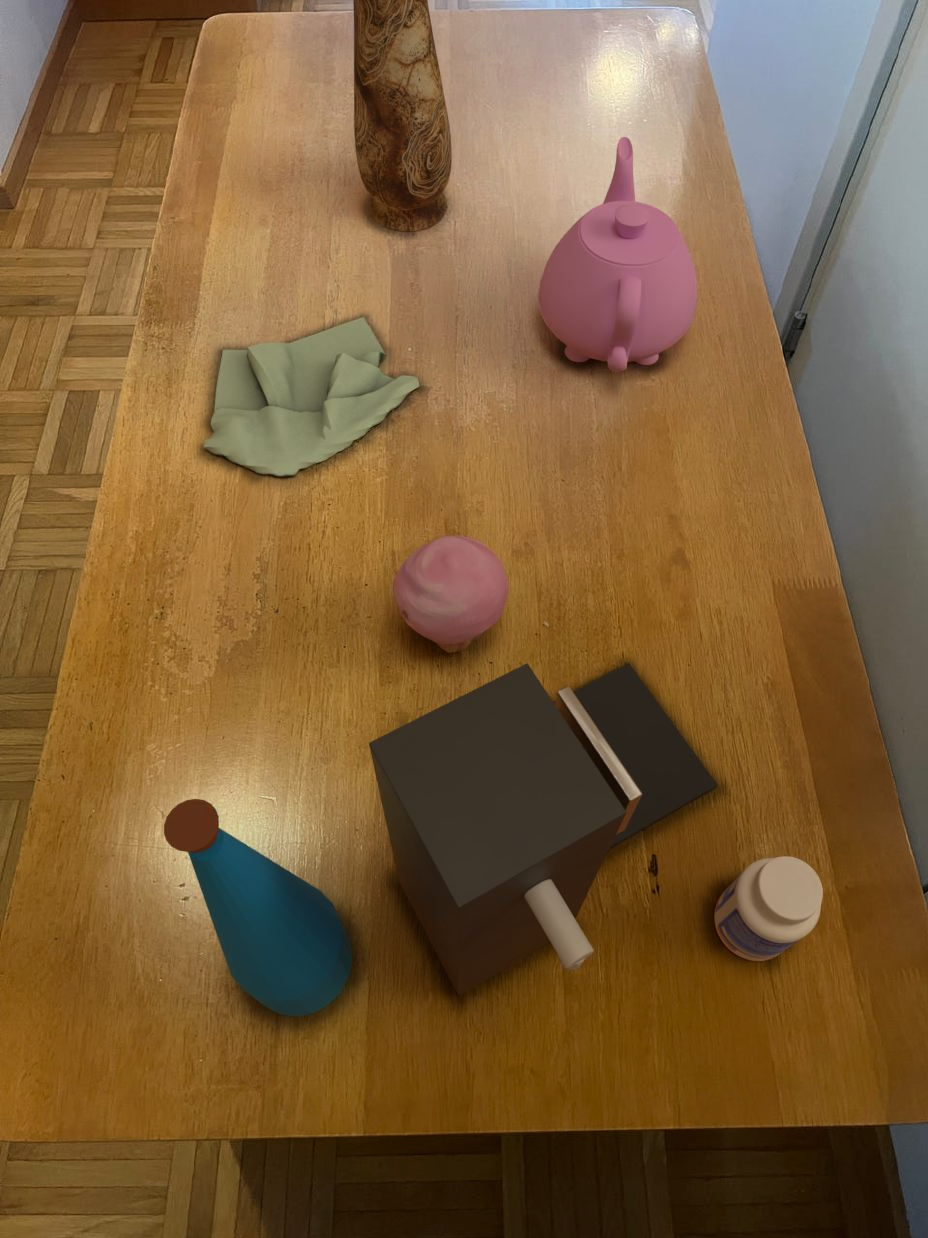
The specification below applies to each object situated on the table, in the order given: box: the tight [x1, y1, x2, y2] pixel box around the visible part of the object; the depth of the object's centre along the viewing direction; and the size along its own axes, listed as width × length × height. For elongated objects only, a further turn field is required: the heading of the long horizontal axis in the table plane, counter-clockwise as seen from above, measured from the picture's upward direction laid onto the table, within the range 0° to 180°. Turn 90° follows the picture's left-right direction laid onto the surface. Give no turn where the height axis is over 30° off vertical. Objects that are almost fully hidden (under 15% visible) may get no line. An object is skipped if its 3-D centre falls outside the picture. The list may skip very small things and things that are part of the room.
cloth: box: [203, 316, 420, 478], centre depth 90 cm, size 20×22×2 cm
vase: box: [352, 0, 453, 232], centre depth 93 cm, size 10×11×30 cm
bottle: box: [163, 798, 354, 1018], centre depth 52 cm, size 7×7×30 cm
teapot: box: [537, 136, 698, 373], centre depth 90 cm, size 22×16×14 cm
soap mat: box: [553, 662, 718, 850], centre depth 72 cm, size 12×12×1 cm
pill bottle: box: [713, 855, 824, 962], centre depth 62 cm, size 5×5×10 cm
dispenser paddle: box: [554, 685, 642, 835], centre depth 51 cm, size 7×1×6 cm, turn 29°
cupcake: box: [392, 535, 509, 654], centre depth 74 cm, size 9×9×10 cm
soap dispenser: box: [368, 663, 627, 997], centre depth 54 cm, size 13×9×26 cm
